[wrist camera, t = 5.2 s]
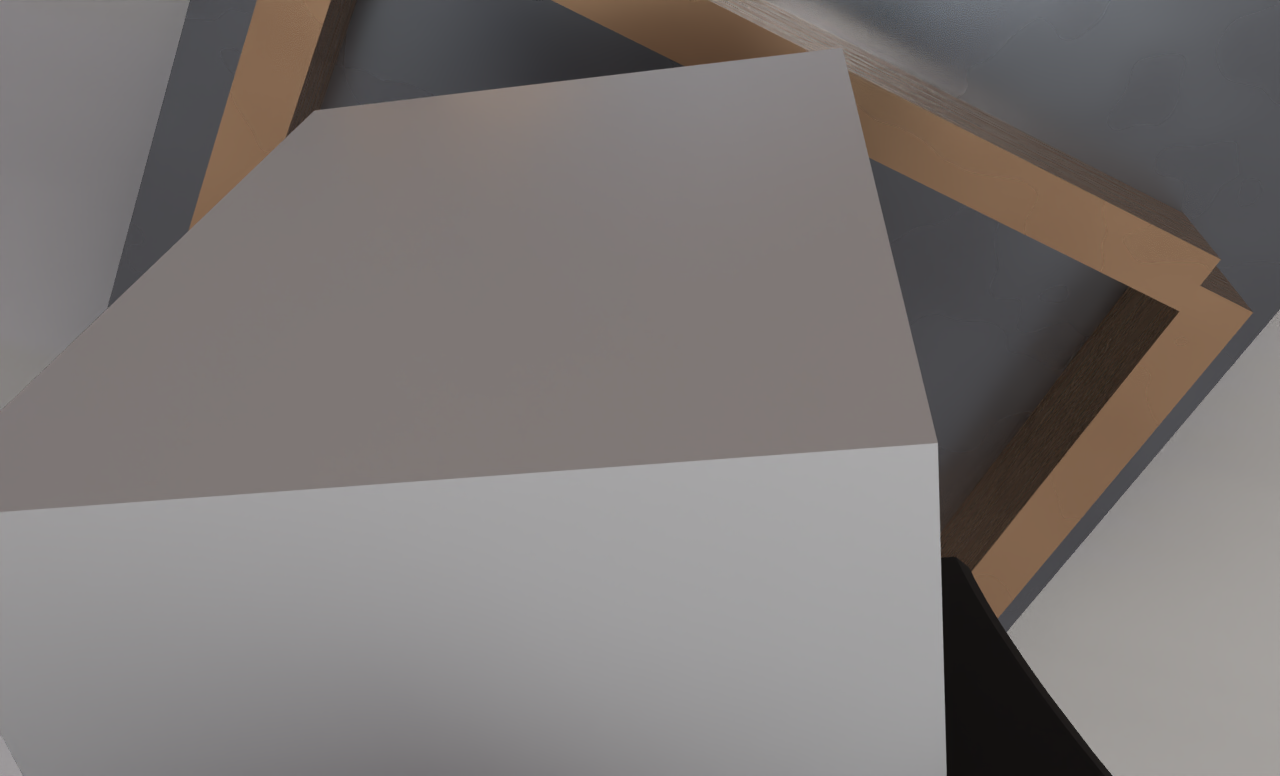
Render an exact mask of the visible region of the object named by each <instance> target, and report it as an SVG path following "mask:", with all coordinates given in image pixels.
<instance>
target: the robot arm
mask: <svg viewBox="0 0 1280 776" xmlns="http://www.w3.org/2000/svg"><path fill="white" fill-rule="evenodd" d="M941 580H942V618H943V655H944V693H945V731H946V768H947V776H1112V775H1111V773H1110V772H1109V771H1108V770H1107V769H1106V767H1105V766H1104V765H1103V764H1102V762H1101V761H1100V760H1099V759H1098V757H1097V756H1096V755H1095V754H1094V753H1093V751H1092V750H1091V749H1090V747H1089V746H1088V745H1087V743H1086V742H1085V741H1084V740H1083V738H1082V737H1081V736H1080V734H1079V733H1078V732H1077V730H1076V729H1075V728H1074V726H1073V725H1072V724H1071V723H1070V721H1069V720H1068V719H1067V717H1066V716H1065V715H1064V713H1063V712H1062V711H1061V709H1060V708H1059V707H1058V705H1057V704H1056V703H1055V702H1054V700H1053V699H1052V698H1051V696H1050V695H1049V694H1048V692H1047V691H1046V689H1045V688H1044V687H1043V685H1042V684H1041V682H1040V681H1039V680H1038V678H1037V677H1036V675H1035V674H1034V673H1033V671H1032V670H1031V668H1030V667H1029V666H1028V664H1027V663H1026V661H1025V660H1024V658H1023V657H1022V655H1021V654H1020V652H1019V651H1018V649H1017V648H1016V646H1015V645H1014V643H1013V642H1012V640H1011V639H1010V637H1009V636H1008V634H1007V633H1006V631H1005V629H1004V628H1003V626H1002V625H1001V623H1000V622H999V620H998V618H997V617H996V615H995V613H994V612H993V610H992V608H991V607H990V605H989V603H988V602H987V600H986V598H985V596H984V595H983V593H982V591H981V589H980V588H979V586H978V584H977V582H976V580H975V578H974V576H973V574H972V572H971V570H970V568H969V567H968V566H967V565H966V564H964V563H963V562H962V561H961V560H959V559H958V558H957V557H941Z"/></svg>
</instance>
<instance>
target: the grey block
mask: <svg viewBox="0 0 1280 776" xmlns="http://www.w3.org/2000/svg"><path fill="white" fill-rule="evenodd" d="M0 734H1V736H2V737H3V739H4V741H5V743H6V745H7V747H8V749H9V750H10V752H11V754H12V756H13V758H14V760H15V762H16V764H17V765H18V767H19V769H20V771H21V773H22V775H23V776H947V768H946V731H945V693H944V655H943V618H942V580H941V543H940V505H939V467H938V442H937V437H936V433H935V429H934V425H933V421H932V417H931V413H930V409H929V404H928V400H927V396H926V392H925V388H924V384H923V380H922V375H921V371H920V367H919V363H918V359H917V355H916V351H915V346H914V342H913V338H912V334H911V330H910V326H909V322H908V317H907V313H906V309H905V305H904V301H903V297H902V293H901V288H900V284H899V280H898V276H897V272H896V268H895V264H894V259H893V255H892V251H891V247H890V243H889V239H888V235H887V230H886V226H885V222H884V218H883V214H882V210H881V206H880V201H879V197H878V193H877V189H876V185H875V181H874V177H873V172H872V168H871V164H870V160H869V156H868V152H867V148H866V143H865V139H864V135H863V131H862V127H861V123H860V119H859V114H858V110H857V106H856V102H855V98H854V94H853V90H852V85H851V81H850V77H849V73H848V69H847V65H846V61H845V57H844V52H843V48H836V49H828V50H819V51H811V52H802V53H794V54H786V55H777V56H769V57H760V58H752V59H743V60H735V61H727V62H718V63H710V64H701V65H693V66H685V67H676V68H668V69H659V70H651V71H643V72H634V73H626V74H617V75H609V76H601V77H592V78H584V79H575V80H567V81H559V82H550V83H542V84H533V85H525V86H516V87H508V88H500V89H491V90H483V91H474V92H466V93H458V94H449V95H441V96H432V97H424V98H416V99H407V100H399V101H390V102H382V103H374V104H365V105H357V106H348V107H340V108H332V109H323V110H315V111H313V112H312V113H311V114H310V115H309V116H308V117H307V118H306V119H305V120H304V121H303V122H302V123H301V124H300V125H299V126H298V127H297V128H296V129H295V130H293V131H292V132H291V133H290V134H289V135H288V136H287V137H286V138H285V139H284V140H283V141H282V142H281V143H280V144H279V145H278V146H277V147H276V148H275V149H274V150H273V151H272V152H270V153H269V154H268V155H267V156H266V157H265V158H264V159H263V160H262V161H261V162H260V163H259V164H258V165H257V166H256V167H255V168H254V169H253V170H252V171H251V172H250V173H249V174H248V175H246V176H245V177H244V178H243V179H242V180H241V181H240V182H239V183H238V184H237V185H236V186H235V187H234V188H233V189H232V190H231V191H230V192H229V193H228V194H227V195H226V196H225V197H224V198H222V199H221V200H220V201H219V202H218V203H217V204H216V205H215V206H214V207H213V208H212V209H211V210H210V211H209V212H208V213H207V214H206V215H205V216H204V217H203V218H202V219H201V220H200V221H198V222H197V223H196V224H195V225H194V226H193V227H192V228H191V229H190V230H189V231H188V232H187V233H186V234H185V235H184V236H183V237H182V238H181V239H180V240H179V241H178V242H177V243H176V244H174V245H173V246H172V247H171V248H170V249H169V250H168V251H167V252H166V253H165V254H164V255H163V256H162V257H161V258H160V259H159V260H158V261H157V262H156V263H155V264H154V265H153V266H152V267H150V268H149V269H148V270H147V271H146V272H145V273H144V274H143V275H142V276H141V277H140V278H139V279H138V280H137V281H136V282H135V283H134V284H133V285H132V286H131V287H130V288H129V289H127V290H126V291H125V292H124V293H123V294H122V295H121V296H120V297H119V298H118V299H117V300H116V301H115V302H114V303H113V304H112V305H111V306H110V307H109V308H108V309H107V310H106V311H105V312H103V313H102V314H101V315H100V316H99V317H98V318H97V319H96V320H95V321H94V322H93V323H92V324H91V325H90V326H89V327H88V328H87V329H86V330H85V331H84V332H83V333H82V334H81V335H79V336H78V337H77V338H76V339H75V340H74V341H73V342H72V343H71V344H70V345H69V346H68V347H67V348H66V349H65V350H64V351H63V352H62V353H61V354H60V355H59V356H58V357H57V358H55V359H54V360H53V361H52V362H51V363H50V364H49V365H48V366H47V367H46V368H45V369H44V370H43V371H42V372H41V373H40V374H39V375H38V376H37V377H36V378H35V379H34V380H33V381H31V382H30V383H29V384H28V385H27V386H26V387H25V388H24V389H23V390H22V391H21V392H20V393H19V394H18V395H17V396H16V397H15V398H14V399H13V400H12V401H11V402H10V403H8V404H7V405H6V406H5V407H4V408H3V409H2V410H1V411H0Z"/></svg>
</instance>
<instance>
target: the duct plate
mask: <svg viewBox="0 0 1280 776" xmlns="http://www.w3.org/2000/svg"><path fill="white" fill-rule="evenodd" d="M836 48H843V52H844V57H845V61H846V65H847V69H848V73H849V77H850V81H851V85H852V90H853V94H854V98H855V102H856V106H857V110H858V114H859V119H860V123H861V127H862V131H863V135H864V139H865V143H866V148H867V152H868V156H869V160H870V164H871V168H872V172H873V177H874V181H875V185H876V189H877V193H878V197H879V201H880V206H881V210H882V214H883V218H884V222H885V226H886V230H887V235H888V239H889V243H890V247H891V251H892V255H893V259H894V264H895V268H896V272H897V276H898V280H899V284H900V288H901V293H902V297H903V301H904V305H905V309H906V313H907V317H908V322H909V326H910V330H911V334H912V338H913V342H914V346H915V351H916V355H917V359H918V363H919V367H920V371H921V375H922V380H923V384H924V388H925V392H926V396H927V400H928V404H929V409H930V413H931V417H932V421H933V425H934V429H935V433H936V437H937V442H938V467H939V505H940V543H941V557H957V558H958V559H959V560H961V561H962V562H963V563H964V564H966V565H967V566H968V567H969V568H970V570H971V572H972V574H973V576H974V578H975V580H976V582H977V584H978V586H979V588H980V589H981V591H982V593H983V595H984V596H985V598H986V600H987V602H988V603H989V605H990V607H991V608H992V610H993V612H994V613H995V615H996V617H997V618H998V620H999V622H1000V623H1001V625H1002V626H1003V628H1004V629H1005V631H1006V632H1007V631H1008V630H1009V628H1010V627H1011V626H1012V625H1013V624H1014V622H1015V621H1016V620H1017V619H1018V618H1019V617H1020V615H1021V614H1022V613H1023V612H1024V611H1025V609H1026V608H1027V607H1028V606H1029V605H1030V604H1031V602H1032V601H1033V600H1034V599H1035V598H1036V596H1037V595H1038V594H1039V593H1040V592H1041V591H1042V589H1043V588H1044V587H1045V586H1046V585H1047V583H1048V582H1049V581H1050V580H1051V579H1052V578H1053V576H1054V575H1055V574H1056V573H1057V572H1058V570H1059V569H1060V568H1061V567H1062V566H1063V565H1064V563H1065V562H1066V561H1067V560H1068V559H1069V557H1070V556H1071V555H1072V554H1073V553H1074V552H1075V550H1076V549H1077V548H1078V547H1079V546H1080V544H1081V543H1082V542H1083V541H1084V540H1085V539H1086V537H1087V536H1088V535H1089V534H1090V533H1091V531H1092V530H1093V529H1094V528H1095V527H1096V526H1097V524H1098V523H1099V522H1100V521H1101V520H1102V518H1103V517H1104V516H1105V515H1106V514H1107V513H1108V511H1109V510H1110V509H1111V508H1112V507H1113V505H1114V504H1115V503H1116V502H1117V501H1118V500H1119V498H1120V497H1121V496H1122V495H1123V494H1124V493H1125V491H1126V490H1127V489H1128V488H1129V487H1130V485H1131V484H1132V483H1133V482H1134V481H1135V480H1136V478H1137V477H1138V476H1139V475H1140V474H1141V472H1142V471H1143V470H1144V469H1145V468H1146V467H1147V465H1148V464H1149V463H1150V462H1151V461H1152V459H1153V458H1154V457H1155V456H1156V455H1157V454H1158V452H1159V451H1160V450H1161V449H1162V448H1163V446H1164V445H1165V444H1166V443H1167V442H1168V441H1169V439H1170V438H1171V437H1172V436H1173V435H1174V433H1175V432H1176V431H1177V430H1178V429H1179V428H1180V426H1181V425H1182V424H1183V423H1184V422H1185V420H1186V419H1187V418H1188V417H1189V416H1190V415H1191V413H1192V412H1193V411H1194V410H1195V409H1196V407H1197V406H1198V405H1199V404H1200V403H1201V402H1202V400H1203V399H1204V398H1205V397H1206V396H1207V394H1208V393H1209V392H1210V391H1211V390H1212V389H1213V387H1214V386H1215V385H1216V384H1217V383H1218V381H1219V380H1220V379H1221V378H1222V377H1223V376H1224V374H1225V373H1226V372H1227V371H1228V370H1229V368H1230V367H1231V366H1232V365H1233V364H1234V363H1235V361H1236V360H1237V359H1238V358H1239V357H1240V355H1241V354H1242V353H1243V352H1244V351H1245V350H1246V348H1247V347H1248V346H1249V345H1250V344H1251V342H1252V341H1253V340H1254V339H1255V338H1256V337H1257V335H1258V334H1259V333H1260V332H1261V331H1262V329H1263V328H1264V327H1265V326H1266V325H1267V324H1268V322H1269V321H1270V320H1271V319H1272V318H1273V316H1274V315H1275V314H1276V313H1277V312H1278V311H1279V309H1280V0H190V3H189V7H188V11H187V14H186V18H185V22H184V25H183V29H182V33H181V37H180V40H179V44H178V48H177V51H176V55H175V59H174V63H173V66H172V70H171V74H170V78H169V81H168V85H167V89H166V92H165V96H164V100H163V104H162V107H161V111H160V115H159V119H158V122H157V126H156V130H155V133H154V137H153V141H152V145H151V148H150V152H149V156H148V159H147V163H146V167H145V171H144V174H143V178H142V182H141V186H140V189H139V193H138V197H137V200H136V204H135V208H134V212H133V215H132V219H131V223H130V227H129V230H128V234H127V238H126V241H125V245H124V249H123V253H122V256H121V260H120V264H119V267H118V271H117V275H116V279H115V282H114V286H113V290H112V294H111V297H110V301H109V305H108V308H109V307H110V306H111V305H112V304H113V303H114V302H115V301H116V300H117V299H118V298H119V297H120V296H121V295H122V294H123V293H124V292H125V291H126V290H127V289H129V288H130V287H131V286H132V285H133V284H134V283H135V282H136V281H137V280H138V279H139V278H140V277H141V276H142V275H143V274H144V273H145V272H146V271H147V270H148V269H149V268H150V267H152V266H153V265H154V264H155V263H156V262H157V261H158V260H159V259H160V258H161V257H162V256H163V255H164V254H165V253H166V252H167V251H168V250H169V249H170V248H171V247H172V246H173V245H174V244H176V243H177V242H178V241H179V240H180V239H181V238H182V237H183V236H184V235H185V234H186V233H187V232H188V231H189V230H190V229H191V228H192V227H193V226H194V225H195V224H196V223H197V222H198V221H200V220H201V219H202V218H203V217H204V216H205V215H206V214H207V213H208V212H209V211H210V210H211V209H212V208H213V207H214V206H215V205H216V204H217V203H218V202H219V201H220V200H221V199H222V198H224V197H225V196H226V195H227V194H228V193H229V192H230V191H231V190H232V189H233V188H234V187H235V186H236V185H237V184H238V183H239V182H240V181H241V180H242V179H243V178H244V177H245V176H246V175H248V174H249V173H250V172H251V171H252V170H253V169H254V168H255V167H256V166H257V165H258V164H259V163H260V162H261V161H262V160H263V159H264V158H265V157H266V156H267V155H268V154H269V153H270V152H272V151H273V150H274V149H275V148H276V147H277V146H278V145H279V144H280V143H281V142H282V141H283V140H284V139H285V138H286V137H287V136H288V135H289V134H290V133H291V132H292V131H293V130H295V129H296V128H297V127H298V126H299V125H300V124H301V123H302V122H303V121H304V120H305V119H306V118H307V117H308V116H309V115H310V114H311V113H312V112H313V111H315V110H323V109H332V108H340V107H348V106H357V105H365V104H374V103H382V102H390V101H399V100H407V99H416V98H424V97H432V96H441V95H449V94H458V93H466V92H474V91H483V90H491V89H500V88H508V87H516V86H525V85H533V84H542V83H550V82H559V81H567V80H575V79H584V78H592V77H601V76H609V75H617V74H626V73H634V72H643V71H651V70H659V69H668V68H676V67H685V66H693V65H701V64H710V63H718V62H727V61H735V60H743V59H752V58H760V57H769V56H777V55H786V54H794V53H802V52H811V51H819V50H828V49H836ZM108 308H107V309H108Z"/></svg>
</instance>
